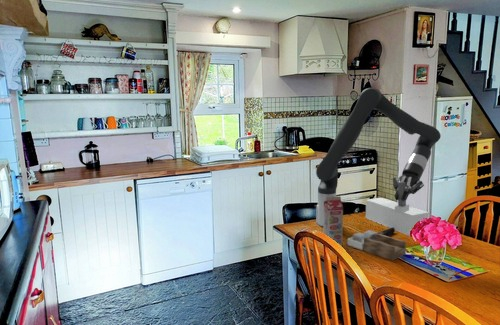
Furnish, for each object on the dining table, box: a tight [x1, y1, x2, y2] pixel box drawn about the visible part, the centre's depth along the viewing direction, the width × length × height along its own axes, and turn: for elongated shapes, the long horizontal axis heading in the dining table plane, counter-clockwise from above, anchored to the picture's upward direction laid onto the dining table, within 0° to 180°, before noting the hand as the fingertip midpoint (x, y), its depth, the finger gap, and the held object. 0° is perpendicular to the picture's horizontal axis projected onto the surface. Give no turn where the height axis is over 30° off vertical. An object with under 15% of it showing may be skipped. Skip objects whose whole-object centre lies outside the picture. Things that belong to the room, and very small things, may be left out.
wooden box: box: [363, 232, 407, 261], centre depth 153 cm, size 14×10×6 cm
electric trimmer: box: [377, 228, 396, 237], centre depth 172 cm, size 4×16×3 cm, turn 128°
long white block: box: [365, 197, 430, 237], centre depth 187 cm, size 32×11×11 cm, turn 22°
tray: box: [346, 236, 364, 251], centre depth 162 cm, size 8×10×3 cm
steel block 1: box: [352, 232, 364, 243], centre depth 162 cm, size 4×4×4 cm
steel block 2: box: [363, 230, 378, 241], centre depth 158 cm, size 4×4×4 cm
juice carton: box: [322, 196, 344, 247], centre depth 162 cm, size 7×7×22 cm
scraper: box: [395, 181, 410, 214], centre depth 152 cm, size 3×6×12 cm, turn 128°
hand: (399, 199), depth 151 cm, fingers closed on scraper, 2 cm apart
